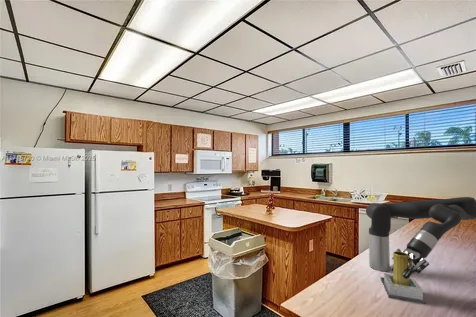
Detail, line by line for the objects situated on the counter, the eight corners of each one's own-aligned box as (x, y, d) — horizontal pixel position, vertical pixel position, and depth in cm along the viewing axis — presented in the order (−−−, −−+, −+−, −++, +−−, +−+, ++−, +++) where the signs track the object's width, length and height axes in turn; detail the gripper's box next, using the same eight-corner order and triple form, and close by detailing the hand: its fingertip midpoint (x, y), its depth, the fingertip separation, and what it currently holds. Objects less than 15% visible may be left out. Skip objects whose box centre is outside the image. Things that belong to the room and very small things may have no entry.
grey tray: (380, 279, 111) (380, 268, 111) (411, 284, 106) (410, 272, 107) (388, 297, 95) (388, 284, 95) (425, 303, 91) (424, 290, 91)
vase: (403, 284, 102) (402, 250, 102) (414, 291, 96) (413, 256, 96) (389, 284, 102) (388, 251, 102) (400, 292, 95) (398, 256, 96)
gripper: (444, 255, 94) (419, 288, 92) (413, 244, 108) (390, 272, 106) (432, 242, 94) (406, 275, 91) (402, 233, 108) (379, 261, 106)
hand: (398, 273), depth 99 cm, fingers closed on vase, 5 cm apart
